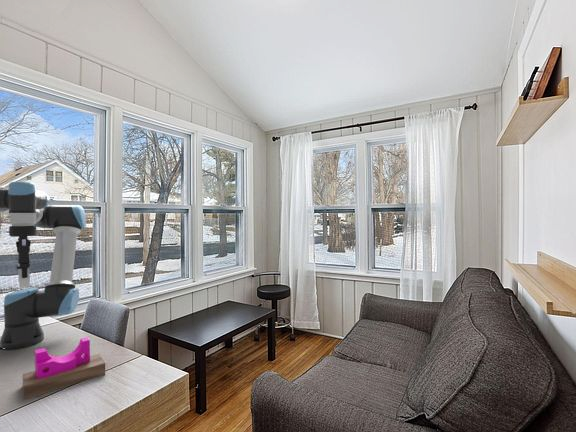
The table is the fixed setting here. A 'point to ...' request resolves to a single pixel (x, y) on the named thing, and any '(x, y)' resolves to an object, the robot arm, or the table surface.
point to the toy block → (61, 360)
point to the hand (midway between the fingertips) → (24, 284)
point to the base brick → (63, 377)
